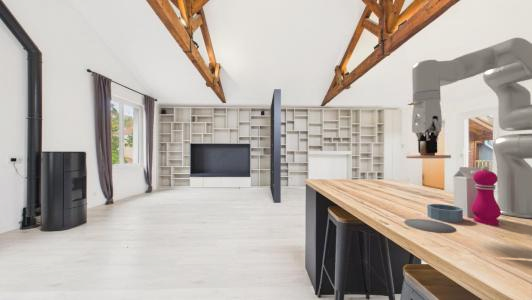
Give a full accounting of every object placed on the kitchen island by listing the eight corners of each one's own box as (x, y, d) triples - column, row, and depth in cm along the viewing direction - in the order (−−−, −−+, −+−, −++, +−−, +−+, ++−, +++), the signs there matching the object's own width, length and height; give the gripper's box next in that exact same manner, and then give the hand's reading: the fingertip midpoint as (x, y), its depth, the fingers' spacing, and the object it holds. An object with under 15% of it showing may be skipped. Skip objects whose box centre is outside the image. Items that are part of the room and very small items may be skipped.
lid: (437, 157, 78) (437, 141, 78) (460, 158, 66) (459, 139, 66) (400, 157, 80) (400, 142, 80) (416, 158, 69) (415, 140, 69)
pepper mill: (507, 227, 71) (506, 166, 72) (481, 226, 73) (480, 166, 73) (489, 220, 79) (488, 165, 79) (466, 219, 80) (465, 165, 80)
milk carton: (453, 213, 88) (452, 166, 89) (473, 213, 87) (472, 166, 88) (467, 218, 81) (466, 167, 82) (489, 219, 80) (487, 167, 81)
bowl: (451, 216, 85) (451, 204, 85) (470, 224, 75) (469, 211, 75) (422, 214, 87) (422, 203, 87) (437, 222, 77) (436, 210, 77)
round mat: (440, 221, 78) (440, 220, 79) (467, 236, 65) (467, 234, 65) (397, 219, 81) (397, 218, 81) (415, 233, 68) (415, 231, 68)
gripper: (403, 104, 82) (404, 153, 82) (426, 93, 66) (428, 153, 66) (425, 103, 81) (427, 152, 81) (455, 91, 65) (456, 153, 64)
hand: (427, 152), depth 73 cm, fingers closed on lid, 4 cm apart
